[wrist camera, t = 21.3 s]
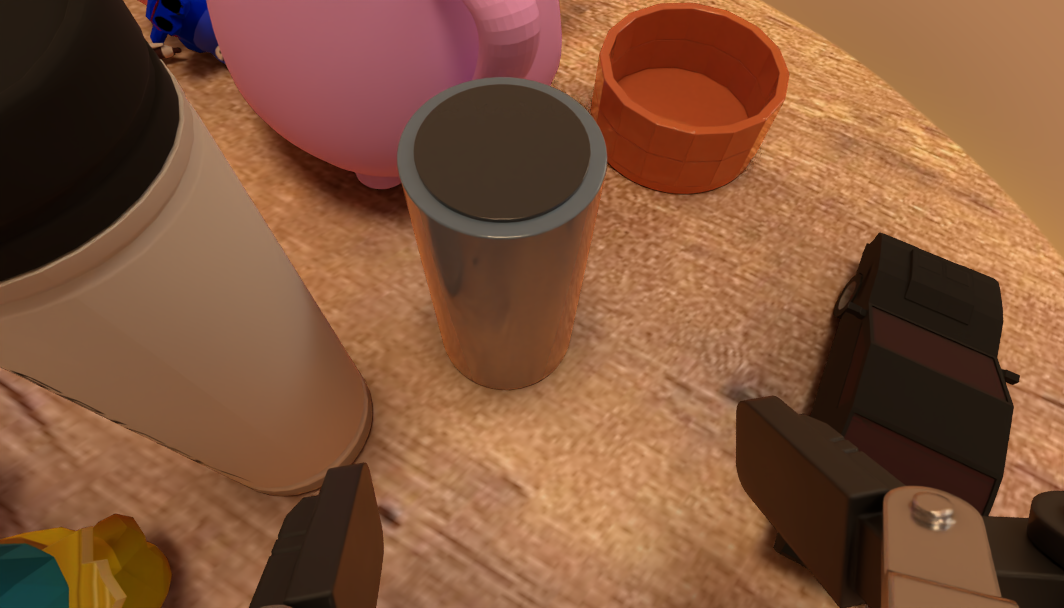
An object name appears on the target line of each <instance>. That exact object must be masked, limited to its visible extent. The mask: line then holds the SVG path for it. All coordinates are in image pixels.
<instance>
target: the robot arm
mask: <svg viewBox="0 0 1064 608" xmlns="http://www.w3.org/2000/svg"><path fill="white" fill-rule="evenodd" d="M736 467H737V473H738V477H739V480H740V482H741V485H742V487H743V489H744V490H745V492H746V493H747V494H748V496H749V497H750V498H751V499H752V501H753V502H754V503H755V504H756V505H757V507H758V508H759V509H760V510H761V512H762V513H763V514H764V515H765V516H766V518H767V519H768V520H769V521H770V523H771V524H772V525H773V526H774V528H775V529H776V530H777V531H778V532H779V534H780V535H781V536H782V537H783V539H784V540H785V541H786V542H787V543H788V545H789V546H790V547H791V548H792V550H793V551H794V552H795V553H796V554H797V556H798V557H799V558H800V559H801V561H802V562H803V563H804V564H805V566H806V567H807V568H808V569H809V570H810V572H811V573H812V574H813V575H814V577H815V578H816V579H817V580H818V581H819V583H820V584H821V585H822V586H823V588H824V589H825V590H826V591H827V593H828V594H829V595H830V596H831V597H832V599H833V600H834V601H835V602H836V604H837V605H838V606H839V607H840V608H847V607H852V606H857V605H861V604H867V605H868V606H869V607H870V608H1064V491H1048V492H1043V493H1041V494H1038V495H1037V496H1035V497H1034V498H1033V500H1032V504H1031V509H1030V514H1029V518H1015V517H992V516H981V515H980V513H979V512H978V511H977V510H976V509H975V508H974V507H973V506H972V505H970V504H969V503H968V502H966V501H964V500H963V499H961V498H959V497H957V496H955V495H953V494H950V493H948V492H945V491H942V490H938V489H934V488H930V487H923V486H906V485H904V484H903V483H902V482H901V481H899V480H898V479H897V478H896V477H894V476H893V475H892V474H890V473H889V472H888V471H887V470H885V469H884V468H883V467H882V466H880V465H879V464H878V463H876V462H875V461H874V460H873V459H871V458H870V457H869V456H868V455H866V454H865V453H864V452H862V451H860V452H859V450H858V448H857V447H856V446H855V445H854V444H852V443H851V442H850V441H848V440H845V439H844V437H843V436H842V435H841V434H840V433H838V432H837V431H836V430H834V429H833V428H832V427H831V426H829V425H828V424H827V423H824V422H822V421H819V420H817V419H815V418H812V417H810V416H808V415H805V414H798V413H796V412H795V411H794V410H793V409H791V408H790V407H789V406H788V405H787V404H785V403H784V402H783V401H782V400H781V399H779V398H778V397H776V396H768V397H762V398H756V399H750V400H744V401H740V402H739V403H738V406H737V410H736ZM383 554H384V543H383V531H382V525H381V520H380V516H379V511H378V506H377V502H376V497H375V493H374V488H373V484H372V479H371V474H370V470H369V467H368V465H367V463H359V464H353V465H347V466H340V467H334V468H329V469H328V470H327V473H326V475H325V478H324V481H323V484H322V487H321V490H320V493H319V495H317V496H311V497H305V498H303V499H302V500H301V501H300V502H299V503H298V504H297V505H296V506H295V507H294V508H293V509H292V510H291V511H290V512H289V513H288V514H287V516H286V517H285V519H284V522H283V524H282V527H281V529H280V532H279V534H278V539H277V540H276V542H275V544H274V547H273V549H272V555H271V556H269V559H268V561H267V564H266V566H265V569H264V571H263V574H262V576H261V579H260V581H259V584H258V586H257V589H256V591H255V594H254V596H253V598H252V601H251V603H250V606H249V608H376V605H377V598H378V591H379V584H380V577H381V570H382V563H383Z"/></svg>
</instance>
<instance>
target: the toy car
mask: <svg viewBox="0 0 1064 608" xmlns="http://www.w3.org/2000/svg"><path fill="white" fill-rule="evenodd" d="M834 315H835V317H836V318H838V319H841V320H840V323H839V326H838V328H837V331H836V335H835V338H834V341H833V344H832V347H831V351H830V354H829V357H828V360H827V363H826V367H825V370H824V373H823V376H822V379H821V383H820V386H819V389H818V392H817V396H816V399H815V402H814V405H813V409H812V412H811V415H810V417H812V418H815V419H817V420H819V421H822V422H824V423H827V424H828V425H829V426H831V427H832V428H833V429H834V430H836V431H837V432H838V433H840V434H841V435H842V436H843V437H844V439H845V440H848V441H850V442H851V443H852V444H854V445H855V446H856V447H857V448H858V450H859V452H860V451H862V452H864V453H865V454H866V455H868V456H869V457H870V458H871V459H873V460H874V461H875V462H876V463H878V464H879V465H880V466H882V467H883V468H884V469H885V470H887V471H888V472H889V473H890V474H892V475H893V476H894V477H896V478H897V479H898V480H899V481H901V482H902V483H903V484H904V485H906V486H923V487H930V488H934V489H938V490H942V491H945V492H948V493H950V494H953V495H955V496H957V497H959V498H961V499H963V500H964V501H966V502H968V503H969V504H970V505H972V506H973V507H974V508H975V509H976V510H977V511H978V512H979V513H980V515H981V516H988V515H989V513H990V511H991V508H992V506H993V503H994V501H995V498H996V495H997V492H998V489H999V487H1000V484H1001V481H1002V478H1003V474H1004V467H1005V461H1006V454H1007V448H1008V441H1009V435H1010V428H1011V422H1012V415H1013V409H1014V406H1013V403H1012V400H1011V397H1010V394H1009V391H1008V388H1007V385H1006V382H1007V383H1009V384H1012V385H1014V384H1016V383H1018V382H1019V378H1020V375H1018V374H1015V373H1013V372H1011V371H1008V370H1003V369H1001V367H1000V365H999V362H998V359H997V356H998V350H999V344H1000V338H1001V332H1002V326H1003V307H1002V300H1001V293H1000V287H999V283H998V282H997V281H996V280H995V279H994V278H991V277H989V276H987V275H984V274H982V273H979V272H977V271H974V270H972V269H969V268H967V267H964V266H962V265H959V264H956V263H953V262H951V261H948V260H946V259H944V258H941V257H939V256H936V255H934V254H931V253H929V252H926V251H924V250H921V249H919V248H917V247H915V246H913V245H910V244H908V243H905V242H903V241H901V240H898V239H896V238H893V237H891V236H888V235H886V234H883V233H880V232H879V233H878V235H877V236H876V237H875V239H874V240H873V241H872V242H871V243H870V244H868V243H867V244H866V247H865V249H864V252H863V255H862V258H861V261H860V264H859V267H858V270H857V272H856V275H855V276H854V277H853V278H852V279H851V280H850V281H849V282H848V284H847V285H846V286H845V288H844V290H843V291H842V293H841V295H840V296H839V299H838V301H837V304H836V306H835V310H834ZM773 548H774V549H775V551H776V552H777V553H779V554H781V555H783V556H785V557H787V558H788V559H790V560H792V561H794V562H796V563H798V564H800V565H802V566H804V567H805V568H807V567H806V566H805V564H804V563H803V562H802V561H801V559H800V558H799V557H798V556H797V554H796V553H795V552H794V551H793V550H792V548H791V547H790V546H789V545H788V543H787V542H786V541H785V540H784V539H783V537H782V536H781V535H780V534H779V532H778V533H777V537H776V540H775V544H774V547H773ZM807 569H808V568H807Z"/></svg>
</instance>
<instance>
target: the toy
mask: <svg viewBox="0 0 1064 608" xmlns="http://www.w3.org/2000/svg"><path fill="white" fill-rule="evenodd" d="M171 577H172V572H171V569H170V566H169V563H168V559H167V557H166V556H165V555H164V554H163V553H162V552H161V551H160V549H159V548H158V547H157V546H156V545H154V544H151V543H149V542H147V541H146V538H145V535H144V533H143V532H142V530H141V529H140V527H139V526H138V524H137V523H136V521H135V520H134V518H133V517H129V516H124V515H119V514H113V515H111V516H109V517H107V518H106V519H104V520H102V521H100V522H98V523H97V524H96V525H95V526H94V528H93V526H91V527H86V528H81V529H80V530H78V531H74V530H70V529H67V528H63V527H59V528H52V529H46V530H40V531H34V532H28V533H23V534H19V535H15V536H11V537H7V538H4V539H0V608H161V607H162V605H163V603H164V600H165V598H166V596H167V594H168V592H169V587H170V582H171Z"/></svg>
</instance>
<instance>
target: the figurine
mask: <svg viewBox="0 0 1064 608" xmlns="http://www.w3.org/2000/svg"><path fill="white" fill-rule="evenodd" d="M138 1H140V2H142V3H143V4H145V5H147V9H146V17H147V18H148V19H149V20H150V21H151V23H152V24H153V28H152V32H151V35H150V38H151V40H152V42H153V43H164V41H165V39H166V37H167V35H168V34H169V35H171V36H175V37H178V38H179V40H180V41H181V42H182V43H183V44H184V45H185V46H186V48H188V49H190V50H193V51H196V52H199V53H203V52H210V53H212V54H213V55H214V56H215V57H216V58H217V59H218V60H219V61H220V62H222V63H223V64H226V63H225V61H224V58H223V56H222V54H221V51H220V48H219V45H218V42H217V39H216V36H215V33H214V30H213V26H212V22H211V19H210V15H209V11H208V7H207V2H206V0H138Z"/></svg>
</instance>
